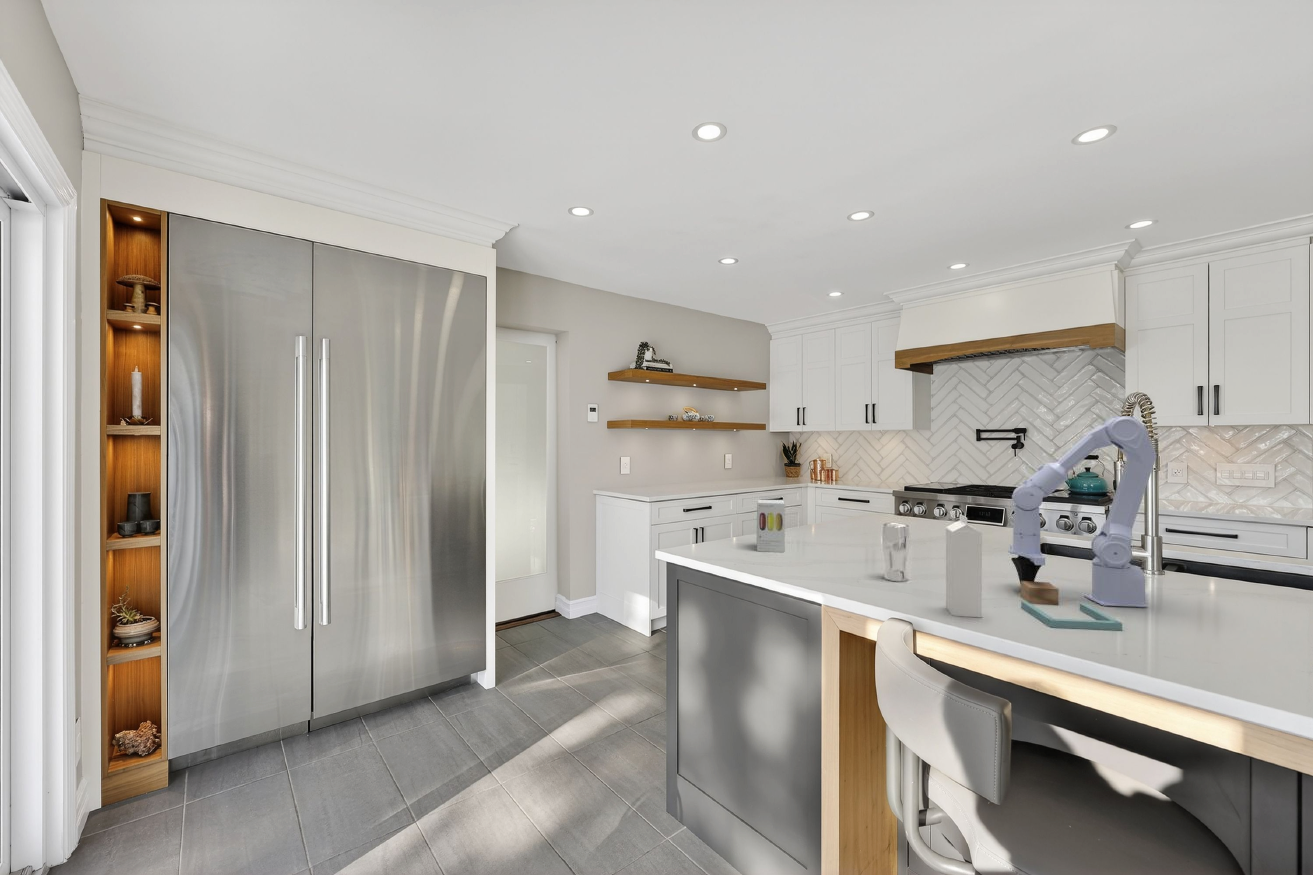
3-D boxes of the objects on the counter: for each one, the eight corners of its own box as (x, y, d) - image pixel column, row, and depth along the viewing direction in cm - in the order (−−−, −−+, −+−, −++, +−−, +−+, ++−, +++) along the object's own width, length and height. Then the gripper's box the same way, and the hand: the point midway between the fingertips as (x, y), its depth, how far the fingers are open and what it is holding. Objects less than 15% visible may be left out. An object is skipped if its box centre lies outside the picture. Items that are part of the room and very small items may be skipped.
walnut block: (1048, 598, 140) (1048, 582, 140) (1058, 606, 134) (1058, 589, 134) (1020, 596, 142) (1020, 580, 142) (1029, 604, 136) (1029, 587, 136)
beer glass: (912, 582, 154) (912, 527, 154) (884, 581, 156) (884, 526, 156) (906, 576, 161) (906, 523, 161) (880, 575, 163) (880, 522, 162)
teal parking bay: (1085, 610, 130) (1085, 603, 130) (1122, 630, 117) (1122, 623, 117) (1021, 607, 133) (1021, 601, 133) (1050, 627, 120) (1050, 620, 120)
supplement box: (756, 551, 195) (756, 502, 195) (756, 546, 204) (756, 499, 204) (785, 552, 193) (785, 502, 193) (784, 546, 202) (783, 499, 202)
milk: (952, 616, 127) (951, 517, 127) (945, 607, 133) (944, 513, 133) (982, 617, 126) (982, 518, 126) (974, 609, 132) (973, 513, 131)
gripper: (997, 528, 152) (997, 579, 152) (1022, 538, 138) (1022, 594, 138) (1026, 528, 151) (1026, 579, 151) (1054, 539, 136) (1054, 596, 137)
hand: (1026, 587), depth 144 cm, fingers closed
